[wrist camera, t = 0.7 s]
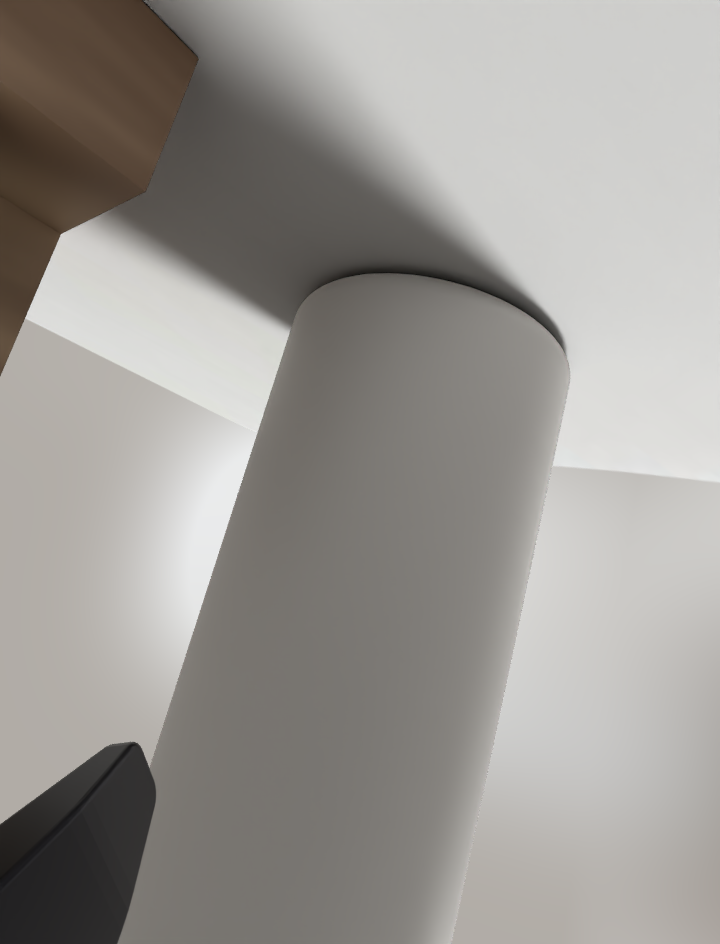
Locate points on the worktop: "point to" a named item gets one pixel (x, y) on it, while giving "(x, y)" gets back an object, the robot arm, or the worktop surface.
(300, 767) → the cylinder vase
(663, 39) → the worktop surface
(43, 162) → the wooden desk organizer
